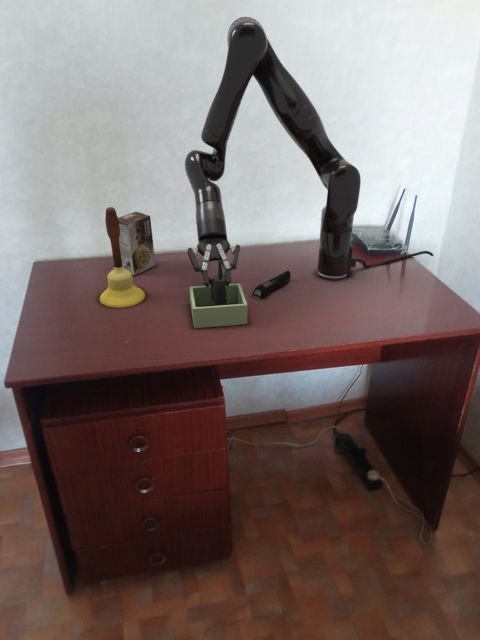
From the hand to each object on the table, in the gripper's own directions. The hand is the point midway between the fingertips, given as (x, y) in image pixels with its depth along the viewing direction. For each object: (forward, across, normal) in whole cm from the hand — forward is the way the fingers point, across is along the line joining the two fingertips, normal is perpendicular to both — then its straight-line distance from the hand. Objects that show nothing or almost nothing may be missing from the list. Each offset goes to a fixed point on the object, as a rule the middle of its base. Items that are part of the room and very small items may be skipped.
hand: (217, 285), depth 140 cm
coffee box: (-17, -21, +30) cm, 40 cm away
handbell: (-4, -25, +16) cm, 30 cm away
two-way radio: (+5, 0, +6) cm, 8 cm away
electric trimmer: (-3, +17, +16) cm, 23 cm away
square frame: (+6, 0, +6) cm, 9 cm away
